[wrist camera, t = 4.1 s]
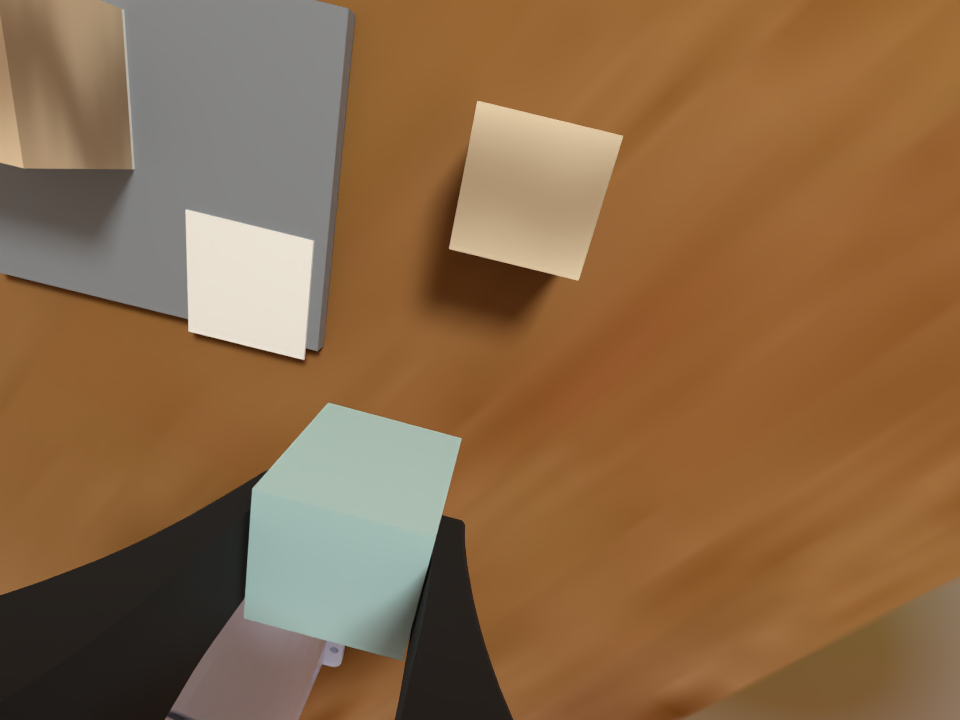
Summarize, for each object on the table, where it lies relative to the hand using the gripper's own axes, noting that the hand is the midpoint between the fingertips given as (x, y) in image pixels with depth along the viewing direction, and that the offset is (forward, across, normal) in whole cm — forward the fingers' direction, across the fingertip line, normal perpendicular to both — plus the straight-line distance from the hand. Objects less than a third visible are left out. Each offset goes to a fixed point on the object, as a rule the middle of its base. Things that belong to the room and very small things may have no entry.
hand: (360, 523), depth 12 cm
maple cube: (+8, -2, -9) cm, 12 cm away
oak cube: (+8, +15, -8) cm, 19 cm away
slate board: (+8, +12, -7) cm, 16 cm away
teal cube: (+2, 0, 0) cm, 2 cm away
